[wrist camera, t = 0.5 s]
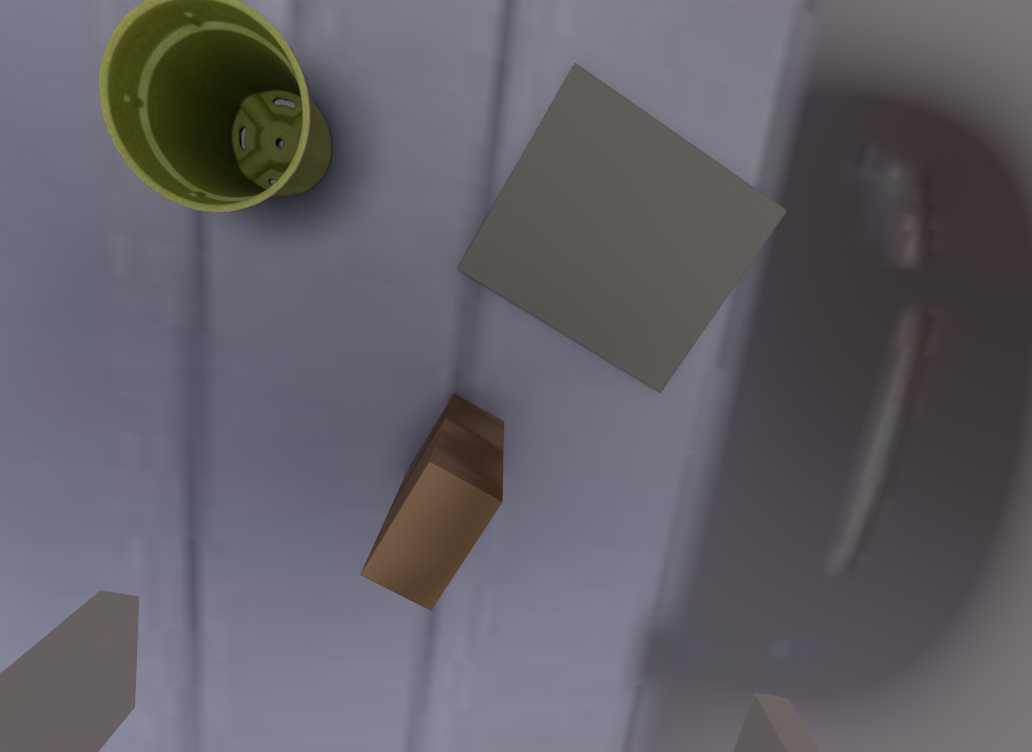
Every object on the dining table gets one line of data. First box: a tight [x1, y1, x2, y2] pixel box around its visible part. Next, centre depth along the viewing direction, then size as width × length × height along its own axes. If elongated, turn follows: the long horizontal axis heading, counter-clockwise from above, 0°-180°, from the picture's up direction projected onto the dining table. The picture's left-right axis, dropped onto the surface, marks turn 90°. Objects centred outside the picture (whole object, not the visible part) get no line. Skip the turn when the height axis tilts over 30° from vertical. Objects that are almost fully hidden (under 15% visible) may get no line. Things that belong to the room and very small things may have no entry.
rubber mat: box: [458, 63, 787, 393], centre depth 34 cm, size 16×14×1 cm
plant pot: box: [99, 0, 332, 212], centre depth 28 cm, size 9×9×9 cm
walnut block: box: [360, 394, 504, 610], centre depth 31 cm, size 4×7×12 cm, turn 149°
